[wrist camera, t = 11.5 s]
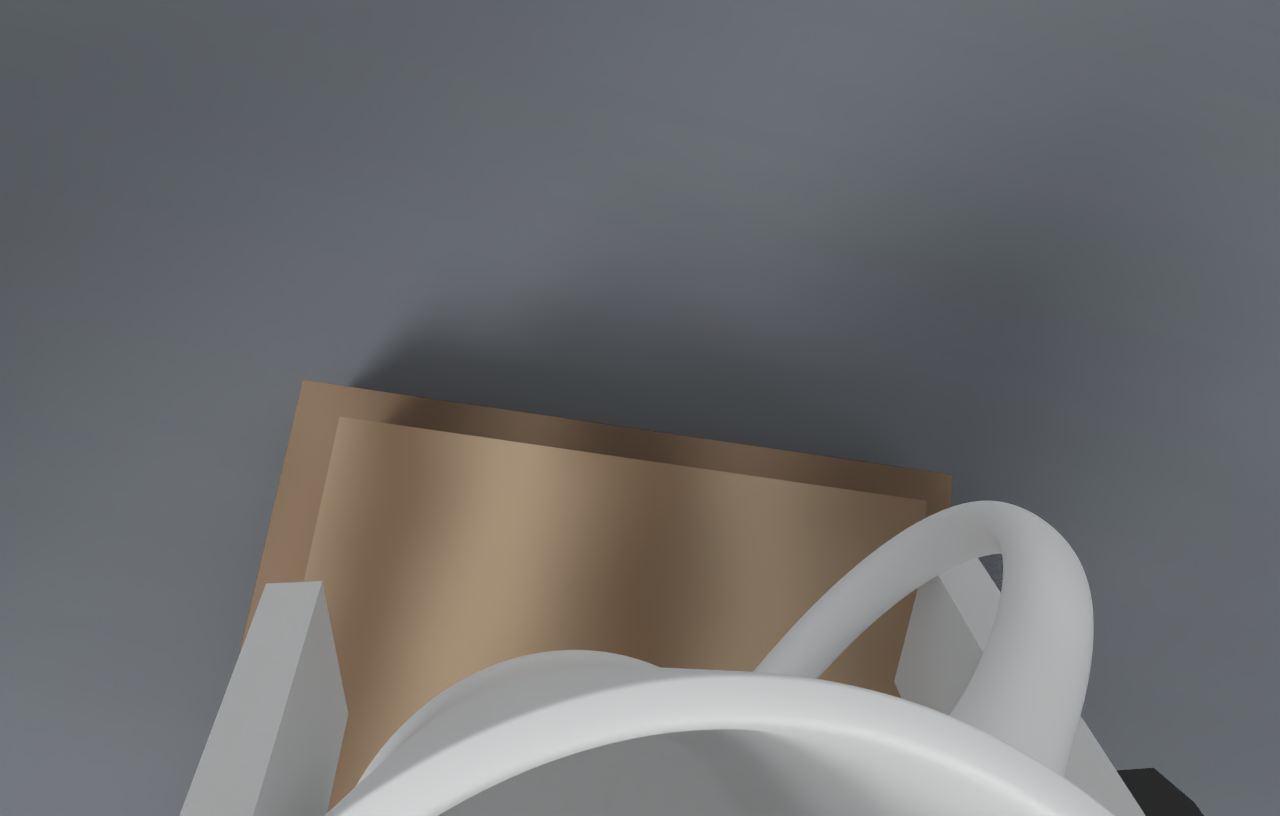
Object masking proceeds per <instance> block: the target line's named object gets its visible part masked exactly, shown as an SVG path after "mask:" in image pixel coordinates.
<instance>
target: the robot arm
mask: <svg viewBox="0 0 1280 816" xmlns="http://www.w3.org/2000/svg"><path fill="white" fill-rule="evenodd" d="M1000 596H1001V592H1000V591H999V589H998V588H997V586H996V585H995V583H994V582H993V580H992V579H991V577H990V576H989V574H988V572H987V571H986V569H985V568H984V566H983V565H982V563H981V562H980V560H979V559H978V558H975V559H972V560H969V561H967V562H964V563H962V564H959V565H957V566H955V567H953V568H951V569H949V570H947V571H945V572H943V573H941V574H939V575H938V576H936V577H934V578H932V579H931V580H929V581H927V582H926V583H924V584H923V585H921V586H920V587H918V590H917V594H916V598H915V601H914V605H913V609H912V613H911V617H910V621H909V625H908V629H907V633H906V637H905V641H904V645H903V649H902V653H901V657H900V661H899V664H898V668H897V672H896V676H895V680H894V682H895V685H896V687H897V689H898V691H899V694H900V696H901V698H902V699H905V700H908V701H911V702H914V703H917V704H920V705H923V706H925V707H928V708H931V709H934V710H936V711H939V712H941V713H944V714H946V715H950V713H951V712H952V710H953V709H954V707H955V706H956V704H957V703H958V701H959V700H960V698H961V697H962V695H963V693H964V692H965V690H966V688H967V686H968V684H969V683H970V681H971V679H972V677H973V675H974V673H975V671H976V669H977V667H978V664H979V662H980V660H981V657H982V655H983V653H984V650H985V647H986V645H987V642H988V639H989V636H990V633H991V630H992V627H993V624H994V621H995V617H996V614H997V610H998V606H999V601H1000ZM347 718H348V710H347V705H346V700H345V695H344V689H343V684H342V679H341V674H340V669H339V664H338V659H337V654H336V649H335V643H334V638H333V633H332V628H331V623H330V618H329V613H328V608H327V603H326V598H325V592H324V587H323V582H322V581H312V582H290V583H267V584H266V585H265V588H264V591H263V593H262V596H261V599H260V601H259V604H258V607H257V609H256V612H255V615H254V617H253V620H252V623H251V625H250V628H249V631H248V634H247V636H246V639H245V642H244V644H243V647H242V650H241V652H240V655H239V658H238V660H237V663H236V666H235V668H234V671H233V674H232V676H231V679H230V682H229V684H228V687H227V690H226V693H225V695H224V698H223V701H222V703H221V706H220V709H219V711H218V714H217V717H216V719H215V722H214V725H213V727H212V730H211V733H210V735H209V738H208V741H207V743H206V746H205V749H204V751H203V754H202V757H201V760H200V762H199V765H198V768H197V770H196V773H195V776H194V778H193V781H192V784H191V786H190V789H189V792H188V794H187V797H186V800H185V802H184V805H183V808H182V810H181V813H180V816H325V815H326V814H327V810H328V805H329V801H330V796H331V791H332V787H333V782H334V778H335V773H336V768H337V764H338V759H339V755H340V750H341V745H342V741H343V736H344V732H345V727H346V723H347ZM1064 778H1066V779H1067V780H1069V781H1070V782H1072V783H1073V784H1075V785H1076V786H1077V787H1079V788H1080V789H1081V790H1083V791H1084V792H1086V793H1087V794H1088V795H1090V796H1091V797H1092V798H1094V799H1095V800H1096V801H1097V802H1099V803H1100V804H1101V805H1103V806H1104V807H1105V808H1106V809H1108V810H1109V811H1110V812H1111V813H1113V814H1114V815H1115V816H1204V815H1203V814H1202V813H1201V811H1200V810H1199V808H1198V807H1197V806H1196V804H1195V803H1194V802H1193V801H1192V800H1191V799H1189V798H1188V797H1187V796H1186V795H1185V794H1184V793H1182V792H1181V791H1180V790H1179V789H1178V788H1177V787H1175V786H1174V785H1173V784H1172V783H1171V782H1170V781H1168V780H1167V779H1166V778H1165V777H1164V776H1163V775H1161V774H1160V773H1159V772H1158V771H1157V770H1156V769H1154V768H1146V769H1132V770H1118V771H1116V769H1115V768H1114V766H1113V765H1112V763H1111V762H1110V760H1109V759H1108V757H1107V756H1106V754H1105V752H1104V751H1103V749H1102V748H1101V746H1100V745H1099V743H1098V742H1097V740H1096V739H1095V737H1094V736H1093V734H1092V732H1091V731H1090V729H1089V728H1088V726H1087V725H1086V723H1085V722H1084V720H1083V719H1082V717H1081V716H1080V719H1079V722H1078V726H1077V730H1076V733H1075V737H1074V740H1073V744H1072V747H1071V751H1070V755H1069V758H1068V762H1067V767H1066V771H1065V776H1064Z"/></svg>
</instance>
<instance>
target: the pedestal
mask: <svg viewBox="0 0 1280 816" xmlns="http://www.w3.org/2000/svg"><path fill="white" fill-rule="evenodd" d="M951 498H952V475H951V474H944V473H937V472H930V471H923V470H916V469H909V468H903V467H896V466H889V465H882V464H875V463H868V462H861V461H855V460H848V459H841V458H834V457H827V456H820V455H813V454H807V453H800V452H793V451H786V450H779V449H772V448H765V447H759V446H752V445H745V444H738V443H731V442H724V441H718V440H711V439H704V438H697V437H690V436H683V435H676V434H670V433H663V432H656V431H649V430H642V429H635V428H628V427H622V426H615V425H608V424H601V423H594V422H587V421H580V420H574V419H567V418H560V417H553V416H546V415H539V414H532V413H526V412H519V411H512V410H505V409H498V408H491V407H484V406H478V405H471V404H464V403H457V402H450V401H443V400H436V399H430V398H423V397H416V396H409V395H402V394H395V393H388V392H382V391H375V390H368V389H361V388H354V387H347V386H340V385H334V384H327V383H320V382H313V381H306V380H303V382H302V386H301V390H300V395H299V399H298V403H297V408H296V412H295V416H294V421H293V425H292V429H291V434H290V438H289V442H288V446H287V451H286V455H285V459H284V464H283V468H282V472H281V477H280V481H279V485H278V490H277V494H276V498H275V503H274V507H273V511H272V516H271V520H270V524H269V529H268V533H267V537H266V542H265V546H264V550H263V554H262V559H261V563H260V567H259V572H258V576H257V580H256V585H255V589H254V593H253V598H252V602H251V606H250V611H249V615H248V619H247V624H246V628H245V632H244V637H243V641H242V645H241V650H242V647H243V644H244V642H245V639H246V636H247V634H248V631H249V628H250V625H251V623H252V620H253V617H254V615H255V612H256V609H257V607H258V604H259V601H260V599H261V596H262V593H263V591H264V588H265V585H266V584H267V583H290V582H312V581H322V582H323V587H324V592H325V598H326V603H327V608H328V613H329V618H330V623H331V628H332V633H333V638H334V643H335V649H336V654H337V659H338V664H339V669H340V674H341V679H342V684H343V689H344V695H345V700H346V705H347V710H348V718H347V723H346V727H345V732H344V736H343V741H342V745H341V750H340V755H339V759H338V764H337V768H336V773H335V778H334V782H333V787H332V791H331V796H330V801H329V805H328V810H327V813H328V812H329V811H330V810H331V809H332V808H333V807H334V806H335V805H336V804H338V803H339V802H340V801H341V800H342V799H343V798H344V797H345V796H346V795H347V794H348V793H349V792H351V791H352V790H353V789H354V788H355V787H356V785H357V783H358V781H359V780H360V778H361V776H362V775H363V773H364V772H365V770H366V769H367V767H368V766H369V764H370V763H371V761H372V760H373V759H374V757H375V756H376V755H377V753H378V752H379V751H380V749H381V748H382V747H383V746H384V745H385V743H386V742H387V741H388V740H389V739H390V738H391V736H392V735H393V734H394V733H395V732H396V731H397V730H398V729H399V728H400V727H401V726H402V725H403V724H404V723H405V722H406V721H407V720H408V719H409V718H410V717H411V716H412V715H413V714H414V713H416V712H417V711H418V710H419V709H420V708H421V707H423V706H424V705H425V704H426V703H428V702H429V701H430V700H432V699H433V698H434V697H436V696H437V695H438V694H440V693H441V692H443V691H444V690H446V689H447V688H449V687H450V686H452V685H454V684H455V683H457V682H459V681H461V680H462V679H464V678H466V677H468V676H470V675H472V674H474V673H476V672H478V671H480V670H483V669H485V668H487V667H490V666H492V665H495V664H498V663H501V662H504V661H507V660H510V659H513V658H517V657H521V656H525V655H530V654H535V653H541V652H548V651H558V650H591V651H601V652H609V653H614V654H619V655H624V656H628V657H632V658H635V659H639V660H642V661H645V662H648V663H650V664H653V665H655V666H658V667H662V668H684V669H705V670H727V671H746V672H753V671H754V670H755V669H756V668H757V666H758V665H759V664H760V663H761V662H762V661H763V659H764V658H765V657H766V656H767V655H768V654H769V652H770V651H771V650H772V649H773V648H774V647H775V646H776V644H777V643H778V642H779V641H780V640H781V639H782V638H783V637H784V635H785V634H786V633H787V632H788V631H789V630H790V629H791V628H792V627H793V626H794V625H795V624H796V622H797V621H798V620H799V619H800V618H801V617H802V616H803V615H804V614H805V613H806V612H807V611H808V610H809V609H810V608H811V607H812V606H813V605H814V604H815V603H816V602H817V601H818V600H819V599H820V598H821V597H822V596H823V595H824V594H825V593H826V592H827V591H828V590H829V589H830V588H832V587H833V586H834V585H835V584H836V583H837V582H838V581H839V580H840V579H841V578H842V577H844V576H845V575H846V574H847V573H848V572H849V571H850V570H852V569H853V568H854V567H855V566H856V565H858V564H859V563H860V562H861V561H862V560H864V559H865V558H866V557H867V556H869V555H870V554H871V553H872V552H874V551H875V550H876V549H878V548H879V547H880V546H882V545H883V544H884V543H886V542H887V541H889V540H890V539H892V538H893V537H895V536H896V535H898V534H899V533H901V532H902V531H904V530H905V529H907V528H909V527H910V526H912V525H914V524H915V523H917V522H919V521H921V520H923V519H925V518H927V517H929V516H931V515H933V514H935V513H937V512H940V511H942V510H944V509H947V508H950V507H951ZM917 590H918V588H917V589H915V590H914V591H912V592H911V593H910V594H908V595H907V596H905V597H904V598H903V599H901V600H900V601H899V602H898V603H896V604H895V605H894V606H892V607H891V608H890V609H889V610H887V611H886V612H885V613H884V614H883V615H881V616H880V617H879V618H878V619H877V620H876V621H875V622H873V623H872V624H871V625H870V626H869V627H868V628H867V629H866V630H865V631H863V632H862V633H861V634H860V635H859V636H858V637H857V638H856V639H855V640H854V641H853V642H852V643H851V644H850V645H849V646H848V647H847V648H846V649H845V650H844V651H843V652H842V653H841V654H840V655H839V656H838V657H837V658H836V659H835V660H834V662H833V663H832V664H831V665H830V666H829V667H828V668H827V669H826V670H825V671H824V672H823V674H822V675H821V676H820V677H819V678H818V679H821V680H827V681H832V682H838V683H843V684H847V685H852V686H857V687H861V688H865V689H869V690H873V691H877V692H881V693H885V694H888V695H892V696H895V697H898V698H901V696H900V694H899V691H898V689H897V687H896V685H895V682H894V680H895V676H896V672H897V668H898V664H899V661H900V657H901V653H902V649H903V645H904V641H905V637H906V633H907V629H908V625H909V621H910V617H911V613H912V609H913V605H914V601H915V598H916V594H917ZM241 650H240V652H241ZM239 655H240V654H239Z"/></svg>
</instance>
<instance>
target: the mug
mask: <svg viewBox="0 0 1280 816" xmlns="http://www.w3.org/2000/svg"><path fill="white" fill-rule="evenodd" d="M993 554H1002V558H1003V582H1002V590H1001V596H1000V601H999V606H998V610H997V614H996V617H995V621H994V624H993V627H992V630H991V633H990V636H989V639H988V642H987V645H986V647H985V650H984V653H983V655H982V657H981V660H980V662H979V664H978V667H977V669H976V671H975V673H974V675H973V677H972V679H971V681H970V683H969V684H968V686H967V688H966V690H965V692H964V693H963V695H962V697H961V698H960V700H959V701H958V703H957V704H956V706H955V707H954V709H953V710H952V712H951V713H950V715H946V714H944V713H941V712H939V711H936V710H934V709H931V708H928V707H925V706H923V705H920V704H917V703H914V702H911V701H908V700H905V699H902V698H898V697H895V696H892V695H888V694H885V693H881V692H877V691H873V690H869V689H865V688H861V687H857V686H852V685H847V684H843V683H838V682H832V681H827V680H821V679H818V678H819V677H820V676H821V675H822V674H823V672H824V671H825V670H826V669H827V668H828V667H829V666H830V665H831V664H832V663H833V662H834V660H835V659H836V658H837V657H838V656H839V655H840V654H841V653H842V652H843V651H844V650H845V649H846V648H847V647H848V646H849V645H850V644H851V643H852V642H853V641H854V640H855V639H856V638H857V637H858V636H859V635H860V634H861V633H862V632H863V631H865V630H866V629H867V628H868V627H869V626H870V625H871V624H872V623H873V622H875V621H876V620H877V619H878V618H879V617H880V616H881V615H883V614H884V613H885V612H886V611H887V610H889V609H890V608H891V607H892V606H894V605H895V604H896V603H898V602H899V601H900V600H901V599H903V598H904V597H905V596H907V595H908V594H910V593H911V592H912V591H914V590H915V589H917V588H918V587H920V586H921V585H923V584H924V583H926V582H927V581H929V580H931V579H932V578H934V577H936V576H938V575H939V574H941V573H943V572H945V571H947V570H949V569H951V568H953V567H955V566H957V565H959V564H962V563H964V562H967V561H969V560H972V559H975V558H978V557H982V556H987V555H993ZM1093 630H1094V624H1093V607H1092V599H1091V593H1090V588H1089V585H1088V581H1087V578H1086V575H1085V572H1084V569H1083V567H1082V565H1081V563H1080V561H1079V559H1078V557H1077V555H1076V554H1075V552H1074V551H1073V549H1072V548H1071V546H1070V545H1069V544H1068V542H1067V541H1066V540H1065V539H1064V538H1063V537H1062V536H1061V535H1060V534H1059V532H1057V531H1056V530H1055V529H1054V528H1053V527H1052V526H1051V525H1050V524H1048V523H1047V522H1046V521H1044V520H1043V519H1041V518H1040V517H1038V516H1037V515H1035V514H1033V513H1032V512H1030V511H1028V510H1026V509H1023V508H1021V507H1018V506H1016V505H1013V504H1009V503H1005V502H999V501H974V502H968V503H964V504H960V505H956V506H953V507H950V508H947V509H944V510H942V511H940V512H937V513H935V514H933V515H931V516H929V517H927V518H925V519H923V520H921V521H919V522H917V523H915V524H914V525H912V526H910V527H909V528H907V529H905V530H904V531H902V532H901V533H899V534H898V535H896V536H895V537H893V538H892V539H890V540H889V541H887V542H886V543H884V544H883V545H882V546H880V547H879V548H878V549H876V550H875V551H874V552H872V553H871V554H870V555H869V556H867V557H866V558H865V559H864V560H862V561H861V562H860V563H859V564H858V565H856V566H855V567H854V568H853V569H852V570H850V571H849V572H848V573H847V574H846V575H845V576H844V577H842V578H841V579H840V580H839V581H838V582H837V583H836V584H835V585H834V586H833V587H832V588H830V589H829V590H828V591H827V592H826V593H825V594H824V595H823V596H822V597H821V598H820V599H819V600H818V601H817V602H816V603H815V604H814V605H813V606H812V607H811V608H810V609H809V610H808V611H807V612H806V613H805V614H804V615H803V616H802V617H801V618H800V619H799V620H798V621H797V622H796V624H795V625H794V626H793V627H792V628H791V629H790V630H789V631H788V632H787V633H786V634H785V635H784V637H783V638H782V639H781V640H780V641H779V642H778V643H777V644H776V646H775V647H774V648H773V649H772V650H771V651H770V652H769V654H768V655H767V656H766V657H765V658H764V659H763V661H762V662H761V663H760V664H759V665H758V666H757V668H756V669H755V670H754V671H753V672H746V671H727V670H705V669H684V668H662V667H658V666H655V665H653V664H650V663H648V662H645V661H642V660H639V659H635V658H632V657H628V656H624V655H619V654H614V653H609V652H601V651H591V650H558V651H548V652H541V653H535V654H530V655H525V656H521V657H517V658H513V659H510V660H507V661H504V662H501V663H498V664H495V665H492V666H490V667H487V668H485V669H483V670H480V671H478V672H476V673H474V674H472V675H470V676H468V677H466V678H464V679H462V680H461V681H459V682H457V683H455V684H454V685H452V686H450V687H449V688H447V689H446V690H444V691H443V692H441V693H440V694H438V695H437V696H436V697H434V698H433V699H432V700H430V701H429V702H428V703H426V704H425V705H424V706H423V707H421V708H420V709H419V710H418V711H417V712H416V713H414V714H413V715H412V716H411V717H410V718H409V719H408V720H407V721H406V722H405V723H404V724H403V725H402V726H401V727H400V728H399V729H398V730H397V731H396V732H395V733H394V734H393V735H392V736H391V738H390V739H389V740H388V741H387V742H386V743H385V745H384V746H383V747H382V748H381V749H380V751H379V752H378V753H377V755H376V756H375V757H374V759H373V760H372V761H371V763H370V764H369V766H368V767H367V769H366V770H365V772H364V773H363V775H362V776H361V778H360V780H359V781H358V783H357V785H356V787H355V788H354V789H353V790H352V791H351V792H349V793H348V794H347V795H346V796H345V797H344V798H343V799H342V800H341V801H340V802H339V803H338V804H336V805H335V806H334V807H333V808H332V809H331V810H330V811H329V812H328V813H327V814H326V815H325V816H1115V815H1114V814H1113V813H1111V812H1110V811H1109V810H1108V809H1106V808H1105V807H1104V806H1103V805H1101V804H1100V803H1099V802H1097V801H1096V800H1095V799H1094V798H1092V797H1091V796H1090V795H1088V794H1087V793H1086V792H1084V791H1083V790H1081V789H1080V788H1079V787H1077V786H1076V785H1075V784H1073V783H1072V782H1070V781H1069V780H1067V779H1066V778H1064V776H1065V771H1066V767H1067V762H1068V758H1069V755H1070V751H1071V747H1072V744H1073V740H1074V737H1075V733H1076V730H1077V726H1078V722H1079V719H1080V715H1081V711H1082V707H1083V703H1084V699H1085V695H1086V690H1087V685H1088V680H1089V674H1090V668H1091V660H1092V651H1093Z"/></svg>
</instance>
